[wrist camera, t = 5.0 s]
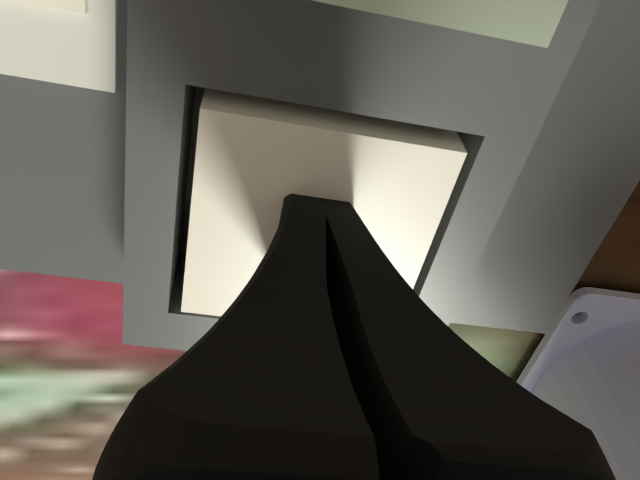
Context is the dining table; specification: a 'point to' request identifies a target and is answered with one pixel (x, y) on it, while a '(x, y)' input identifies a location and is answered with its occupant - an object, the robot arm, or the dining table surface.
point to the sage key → (475, 16)
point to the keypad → (324, 92)
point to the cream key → (306, 185)
